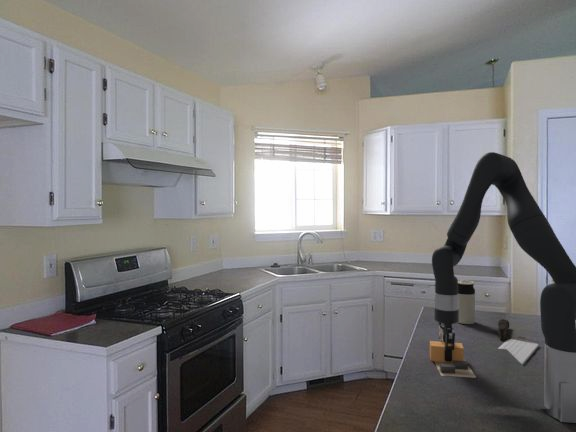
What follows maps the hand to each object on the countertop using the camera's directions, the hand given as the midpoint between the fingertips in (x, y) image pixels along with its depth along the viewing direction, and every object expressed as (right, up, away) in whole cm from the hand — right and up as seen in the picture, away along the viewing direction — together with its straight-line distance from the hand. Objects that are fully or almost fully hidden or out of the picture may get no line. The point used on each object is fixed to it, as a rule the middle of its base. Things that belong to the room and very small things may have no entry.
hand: (446, 357), depth 137 cm
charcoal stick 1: (-3, -1, -10) cm, 10 cm away
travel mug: (+26, -1, +47) cm, 54 cm away
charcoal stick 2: (+2, -1, -7) cm, 7 cm away
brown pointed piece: (+35, -1, +30) cm, 46 cm away
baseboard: (+25, -3, +8) cm, 27 cm away
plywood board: (0, -2, -5) cm, 5 cm away
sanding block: (0, -1, 0) cm, 1 cm away
